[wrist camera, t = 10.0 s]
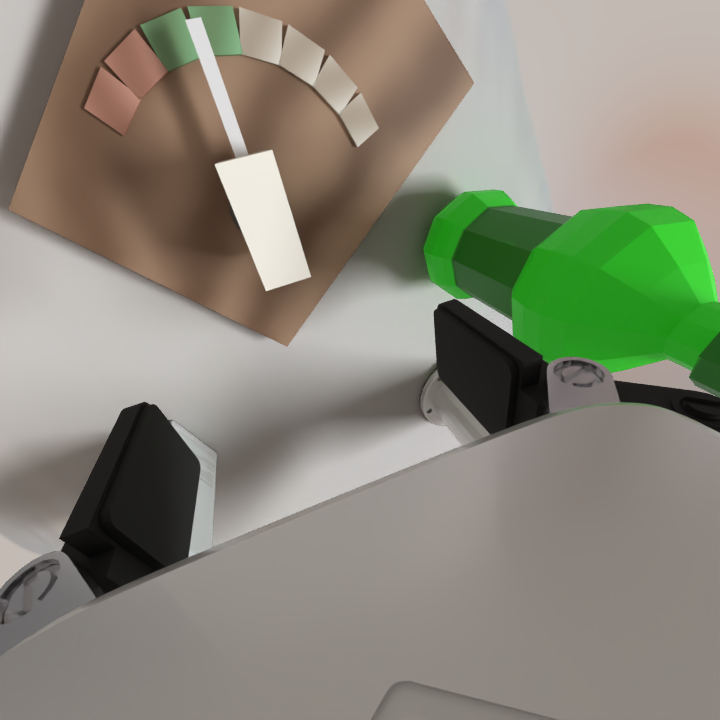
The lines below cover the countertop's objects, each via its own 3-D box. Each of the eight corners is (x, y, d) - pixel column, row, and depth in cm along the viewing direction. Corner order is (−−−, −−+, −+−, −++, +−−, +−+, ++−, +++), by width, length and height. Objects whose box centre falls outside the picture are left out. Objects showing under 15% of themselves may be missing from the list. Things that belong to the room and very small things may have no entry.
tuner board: (455, 88, 26) (476, 82, 24) (283, 334, 33) (287, 348, 30) (215, -283, 15) (212, -359, 13) (29, 204, 22) (5, 210, 19)
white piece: (223, 28, 18) (219, -25, 13) (295, 251, 26) (311, 276, 20) (170, 38, 18) (142, -12, 12) (259, 262, 25) (266, 291, 20)
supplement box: (112, 453, 33) (60, 582, 23) (173, 417, 34) (147, 530, 24) (165, 484, 38) (141, 604, 28) (219, 453, 38) (214, 561, 28)
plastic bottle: (454, 301, 37) (706, 470, 17) (388, 256, 32) (646, 428, 12) (512, 222, 34) (898, 318, 14) (450, 157, 29) (939, 166, 9)
